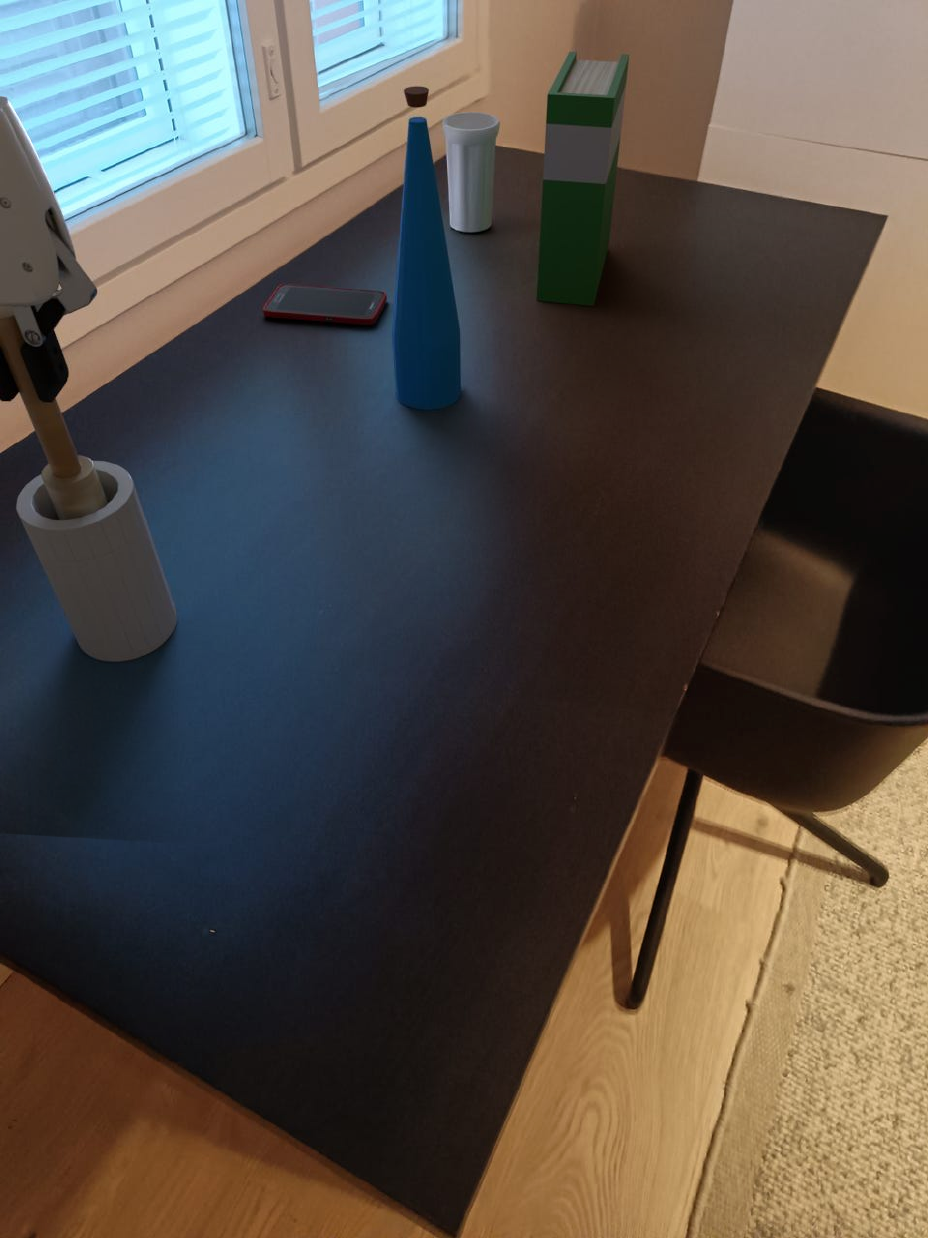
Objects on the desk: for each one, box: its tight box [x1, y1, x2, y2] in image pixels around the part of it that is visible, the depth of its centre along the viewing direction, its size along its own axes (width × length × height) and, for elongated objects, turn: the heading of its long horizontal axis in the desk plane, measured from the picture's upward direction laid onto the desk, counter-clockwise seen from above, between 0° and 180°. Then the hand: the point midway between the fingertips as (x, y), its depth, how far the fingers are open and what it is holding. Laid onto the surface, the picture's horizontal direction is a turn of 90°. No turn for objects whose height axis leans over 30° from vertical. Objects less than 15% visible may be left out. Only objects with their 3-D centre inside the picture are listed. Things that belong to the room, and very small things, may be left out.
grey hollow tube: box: [15, 460, 178, 663], centre depth 71 cm, size 8×8×14 cm
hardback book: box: [536, 51, 630, 307], centre depth 113 cm, size 18×7×24 cm, turn 167°
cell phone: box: [262, 283, 388, 326], centre depth 115 cm, size 8×15×1 cm, turn 80°
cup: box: [440, 111, 501, 233], centre depth 128 cm, size 8×8×14 cm
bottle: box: [391, 85, 462, 411], centre depth 90 cm, size 7×7×30 cm
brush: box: [0, 306, 108, 520], centre depth 61 cm, size 4×4×16 cm
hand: (35, 389), depth 59 cm, fingers closed on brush, 2 cm apart
